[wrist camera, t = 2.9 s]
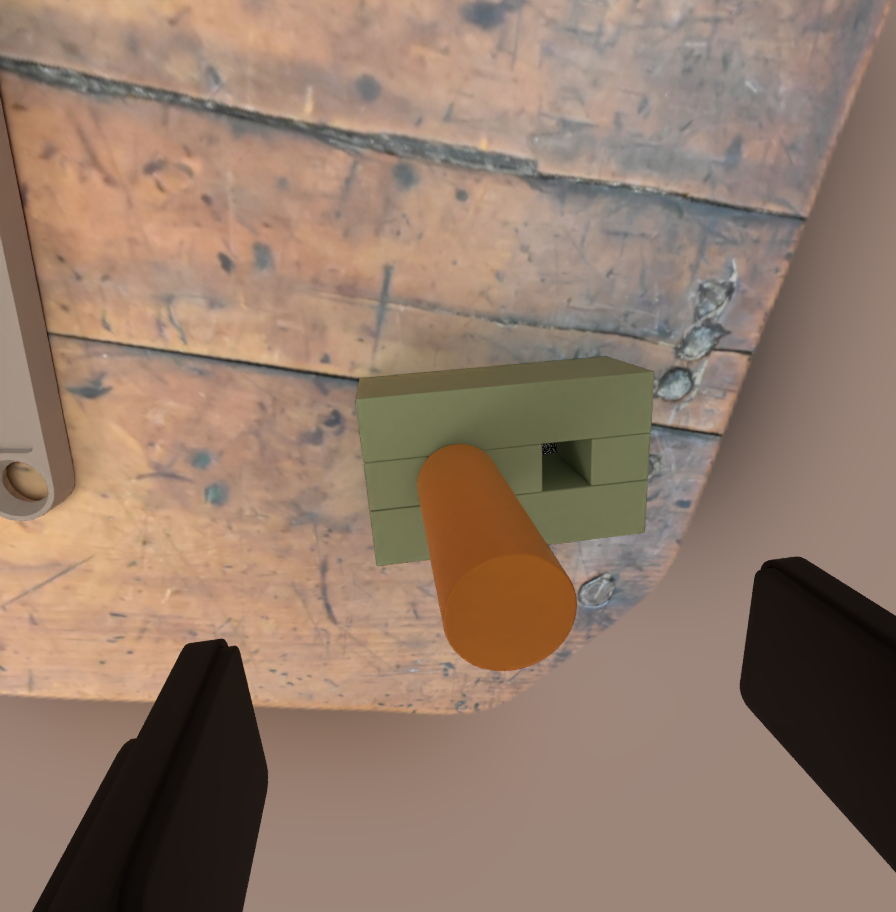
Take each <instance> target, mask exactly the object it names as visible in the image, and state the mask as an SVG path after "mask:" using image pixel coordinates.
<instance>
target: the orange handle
mask: <svg viewBox="0 0 896 912" xmlns="http://www.w3.org/2000/svg"><path fill="white" fill-rule="evenodd" d="M417 491H418V496H419V501H420V507H421V512H422V517H423V522H424V527H425V533H426V538H427V543H428V548H429V554H430V559H431V564H432V569H433V574H434V580H435V585H436V590H437V595H438V600H439V606H440V611H441V616H442V621H443V627H444V631H445V634H446V637H447V639H448V641H449V643H450V645H451V646H452V648H453V649H454V650H455V651H456V653H457V654H458V655H459V656H461V657H462V658H463V659H465V660H466V661H467V662H469V663H471V664H473V665H475V666H477V667H480V668H484V669H487V670H494V671H510V670H517V669H521V668H525V667H528V666H531V665H533V664H535V663H537V662H539V661H541V660H543V659H545V658H546V657H547V656H549V655H550V654H552V653H553V652H554V651H555V650H556V649H557V648H558V647H559V646H560V645H561V644H562V643H563V641H564V640H565V639H566V637H567V636H568V634H569V632H570V630H571V628H572V626H573V623H574V620H575V616H576V609H577V599H576V593H575V589H574V587H573V584H572V582H571V580H570V579H569V577H568V575H567V574H566V572H565V571H564V569H563V568H562V566H561V565H560V563H559V561H558V560H557V558H556V557H555V555H554V554H553V552H552V551H551V549H550V548H549V546H548V545H547V543H546V542H545V540H544V538H543V537H542V535H541V534H540V532H539V531H538V529H537V528H536V526H535V525H534V523H533V522H532V520H531V518H530V517H529V515H528V514H527V512H526V511H525V509H524V508H523V506H522V505H521V503H520V502H519V500H518V499H517V497H516V495H515V494H514V492H513V491H512V489H511V488H510V486H509V485H508V483H507V482H506V480H505V479H504V477H503V475H502V474H501V472H500V471H499V469H498V468H497V466H496V465H495V463H494V462H493V460H492V459H491V458H490V456H489V455H487V454H486V453H485V452H484V451H482V450H481V449H479V448H477V447H474V446H471V445H466V444H455V445H449V446H446V447H443V448H441V449H439V450H437V451H436V452H434V453H433V454H432V455H431V456H430V457H429V458H428V459H427V460H426V461H425V462H424V464H423V465H422V467H421V469H420V472H419V475H418V479H417Z"/></svg>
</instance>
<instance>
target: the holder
mask: <svg viewBox="0 0 896 912" xmlns="http://www.w3.org/2000/svg"><path fill="white" fill-rule="evenodd" d="M653 388H654V371H652V370H648V369H645V368H642V367H639V366H636V365H633V364H629V363H626V362H623V361H620V360H617V359H614V358H610V357H607V356H602V357H591V358H580V359H569V360H558V361H547V362H535V363H524V364H513V365H502V366H491V367H480V368H468V369H457V370H446V371H435V372H424V373H413V374H401V375H390V376H379V377H368V378H360V379H359V384H358V390H357V395H356V400H355V401H356V409H357V416H358V424H359V432H360V440H361V448H362V456H363V462H364V471H365V478H366V486H367V494H368V502H369V509H370V518H371V526H372V534H373V541H374V549H375V557H376V565H377V566H384V565H392V564H400V563H408V562H416V561H424V560H431V559H430V554H429V548H428V543H427V538H426V533H425V527H424V522H423V517H422V512H421V507H420V501H419V496H418V491H417V479H418V475H419V472H420V469H421V467H422V465H423V464H424V462H425V461H426V460H427V459H428V456H431V455H432V454H433V453H434V452H436V451H437V450H439V449H441V448H443V447H446V446H449V445H455V444H466V445H471V446H474V447H477V448H479V449H481V450H482V451H484V452H485V453H486V454H487V455H489V456H490V458H491V459H492V460H493V462H494V463H495V465H496V466H497V468H498V469H499V471H500V472H501V474H502V475H503V477H504V479H505V480H506V482H507V483H508V485H509V486H510V488H511V489H512V491H513V492H514V494H515V495H516V497H517V499H518V500H519V502H520V503H521V505H522V506H523V508H524V509H525V511H526V512H527V514H528V515H529V517H530V518H531V520H532V522H533V523H534V525H535V526H536V528H537V529H538V531H539V532H540V534H541V535H542V537H543V538H544V540H545V542H546V543H547V545H551V544H559V543H567V542H575V541H583V540H591V539H599V538H607V537H615V536H623V535H631V534H639V533H644V532H645V520H646V503H647V486H648V480H647V479H648V469H649V452H650V435H651V434H650V433H649V432H651V422H652V405H653ZM554 442H556V453H554V454H544V455H542V444H545V443H554Z"/></svg>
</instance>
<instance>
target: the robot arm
mask: <svg viewBox="0 0 896 912" xmlns="http://www.w3.org/2000/svg"><path fill="white" fill-rule="evenodd" d="M740 692H741V695H742V698H743V700H744V702H745V704H746V705H747V706H748V708H749V709H750V710H751V711H752V712H753V713H754V715H755V716H756V717H757V718H758V719H759V720H760V721H761V722H762V723H763V725H764V726H765V727H766V728H767V729H768V730H769V731H770V732H771V734H772V735H773V736H774V737H775V738H776V739H777V740H778V741H779V742H780V744H781V745H782V746H783V747H784V748H785V749H786V750H787V751H788V752H789V753H790V755H791V756H792V757H793V758H794V759H795V760H796V761H797V762H798V764H799V765H800V766H801V767H802V768H803V769H804V770H805V771H806V773H807V774H808V775H809V776H810V777H811V778H812V779H813V780H814V781H815V783H816V784H817V785H818V786H819V787H820V788H821V789H822V791H823V792H824V793H825V794H826V795H827V796H828V797H829V798H830V799H831V801H832V802H833V803H834V804H835V805H836V806H837V807H838V808H839V810H840V811H841V812H842V813H843V814H844V815H845V816H846V817H847V818H848V819H849V821H850V822H851V823H852V824H853V825H854V826H855V827H856V828H857V830H858V831H859V832H860V833H861V834H862V835H863V836H864V837H865V839H867V841H868V842H869V843H870V844H871V845H872V846H873V847H874V849H876V851H877V852H878V853H879V854H880V855H881V856H882V857H883V859H884V860H886V862H887V863H888V864H889V865H890V866H891V868H892V869H893V870H894V871H895V872H896V616H895V615H893V614H892V613H890V612H889V611H887V610H886V609H884V608H882V607H881V606H879V605H878V604H876V603H874V602H873V601H871V600H870V599H868V598H866V597H865V596H863V595H862V594H860V593H858V592H857V591H855V590H853V589H852V588H851V587H849V586H847V585H846V584H844V583H842V582H841V581H839V580H838V579H836V578H835V577H833V576H831V575H830V574H828V573H827V572H825V571H823V570H822V569H820V568H819V567H817V566H815V565H814V564H812V563H811V562H809V561H808V560H806V559H804V558H802V557H789V558H781V559H774V560H768V561H766V562H764V564H763V565H762V567H761V570H759V571H757V573H756V574H755V578H754V585H753V592H752V599H751V606H750V614H749V621H748V629H747V635H746V643H745V650H744V658H743V665H742V672H741V679H740ZM267 787H268V769H267V764H266V760H265V756H264V751H263V747H262V743H261V738H260V734H259V730H258V726H257V722H256V717H255V713H254V709H253V705H252V700H251V696H250V692H249V688H248V684H247V679H246V675H245V671H244V667H243V663H242V658H241V654H240V651H239V648H238V647H237V646H230V647H228V644H227V642H226V641H225V640H224V639H215V640H208V641H201V642H194V643H188V644H186V645H185V646H184V648H183V649H182V651H181V653H180V655H179V657H178V659H177V661H176V663H175V665H174V667H173V668H172V670H171V672H170V674H169V676H168V678H167V680H166V682H165V684H164V686H163V688H162V690H161V692H160V694H159V696H158V698H157V699H156V701H155V703H154V706H153V707H152V709H151V711H150V713H149V715H148V717H147V719H146V721H145V723H144V725H143V727H142V729H141V731H140V732H139V734H138V736H137V738H135V739H130V740H129V741H128V742H126V743H125V744H124V745H123V746H122V748H121V750H120V751H119V752H118V754H117V755H116V757H115V759H114V761H113V763H112V765H111V767H110V769H109V770H108V772H107V774H106V776H105V778H104V780H103V781H102V783H101V785H100V787H99V789H98V791H97V792H96V794H95V796H94V798H93V800H92V802H91V804H90V805H89V807H88V809H87V811H86V813H85V815H84V817H83V818H82V820H81V822H80V824H79V826H78V828H77V830H76V831H75V833H74V835H73V837H72V839H71V841H70V843H69V845H68V846H67V848H66V850H65V852H64V854H63V856H62V857H61V859H60V861H59V863H58V865H57V867H56V869H55V870H54V872H53V874H52V876H51V878H50V880H49V882H48V884H47V885H46V887H45V889H44V891H43V893H42V894H41V896H40V898H39V900H38V902H37V904H36V906H35V907H34V909H33V911H32V912H242V911H243V906H244V902H245V896H246V892H247V887H248V882H249V877H250V872H251V867H252V862H253V857H254V853H255V848H256V842H257V838H258V833H259V828H260V823H261V818H262V813H263V808H264V804H265V798H266V794H267Z"/></svg>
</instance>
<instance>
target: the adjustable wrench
mask: <svg viewBox="0 0 896 912" xmlns="http://www.w3.org/2000/svg"><path fill="white" fill-rule="evenodd" d="M17 461H19V462H22V463H24V464H27V465H29V466H31V467H32V468H33V469H35V470H36V471H38V472H39V474H40V475H41V476H42V477H43V479H44V480H45V482H46V485H47V487H48V495H47V496H46V497H45V498H44V499H42V500H40V501H36V500H32V499H29V498H27V497H24V496H23V495H21V494H20V493H19V492H17V491H16V490H15V489H14V488H13V486H12V485H11V484H10V482H9V480H8V478H7V475H6V467H7V466H8V465H9V464H11V463H13V462H17ZM74 485H75V475H74V470H73V465H72V460H71V455H70V449H69V444H68V439H67V434H66V429H65V424H64V419H63V414H62V409H61V404H60V399H59V394H58V388H57V383H56V378H55V373H54V368H53V363H52V358H51V353H50V348H49V343H48V338H47V333H46V327H45V322H44V317H43V312H42V307H41V302H40V297H39V292H38V287H37V282H36V277H35V272H34V267H33V261H32V256H31V251H30V246H29V241H28V236H27V231H26V226H25V221H24V216H23V211H22V206H21V200H20V195H19V190H18V185H17V180H16V175H15V170H14V165H13V160H12V155H11V150H10V145H9V139H8V134H7V129H6V124H5V119H4V114H3V109H2V104H1V99H0V516H1V517H3V518H6V519H9V520H15V521H28V520H34V519H36V518H38V517H40V516H42V515H44V514H46V513H47V512H48V511H50V510H51V509H53V508H54V507H55V506H57V505H58V504H60V503H61V502H63V501H64V500H65V499H66V498H67V497H68V496H69V495H70V494H71V492H72V490H73V488H74Z"/></svg>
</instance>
